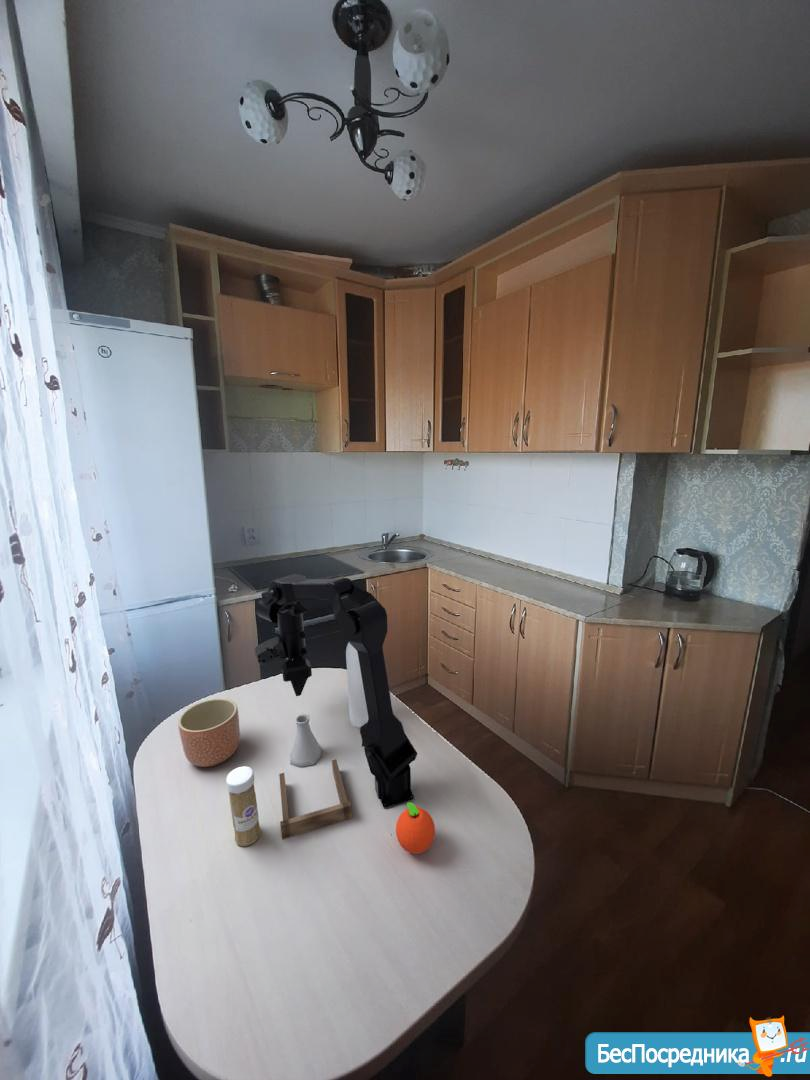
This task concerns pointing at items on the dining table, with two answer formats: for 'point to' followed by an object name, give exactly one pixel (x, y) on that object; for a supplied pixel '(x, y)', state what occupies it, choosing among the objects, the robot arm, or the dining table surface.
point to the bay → (318, 817)
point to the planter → (210, 731)
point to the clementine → (415, 829)
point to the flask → (304, 744)
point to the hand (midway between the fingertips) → (296, 686)
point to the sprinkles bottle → (243, 805)
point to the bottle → (355, 689)
